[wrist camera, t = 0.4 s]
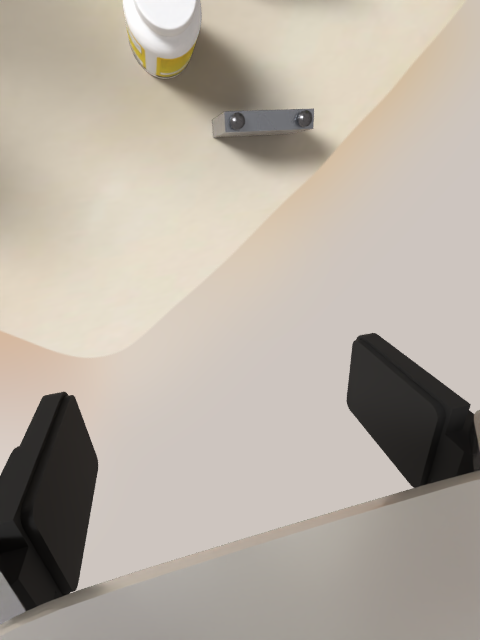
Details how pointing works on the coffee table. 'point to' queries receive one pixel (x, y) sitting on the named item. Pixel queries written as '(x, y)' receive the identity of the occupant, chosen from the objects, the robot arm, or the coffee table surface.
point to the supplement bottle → (163, 33)
